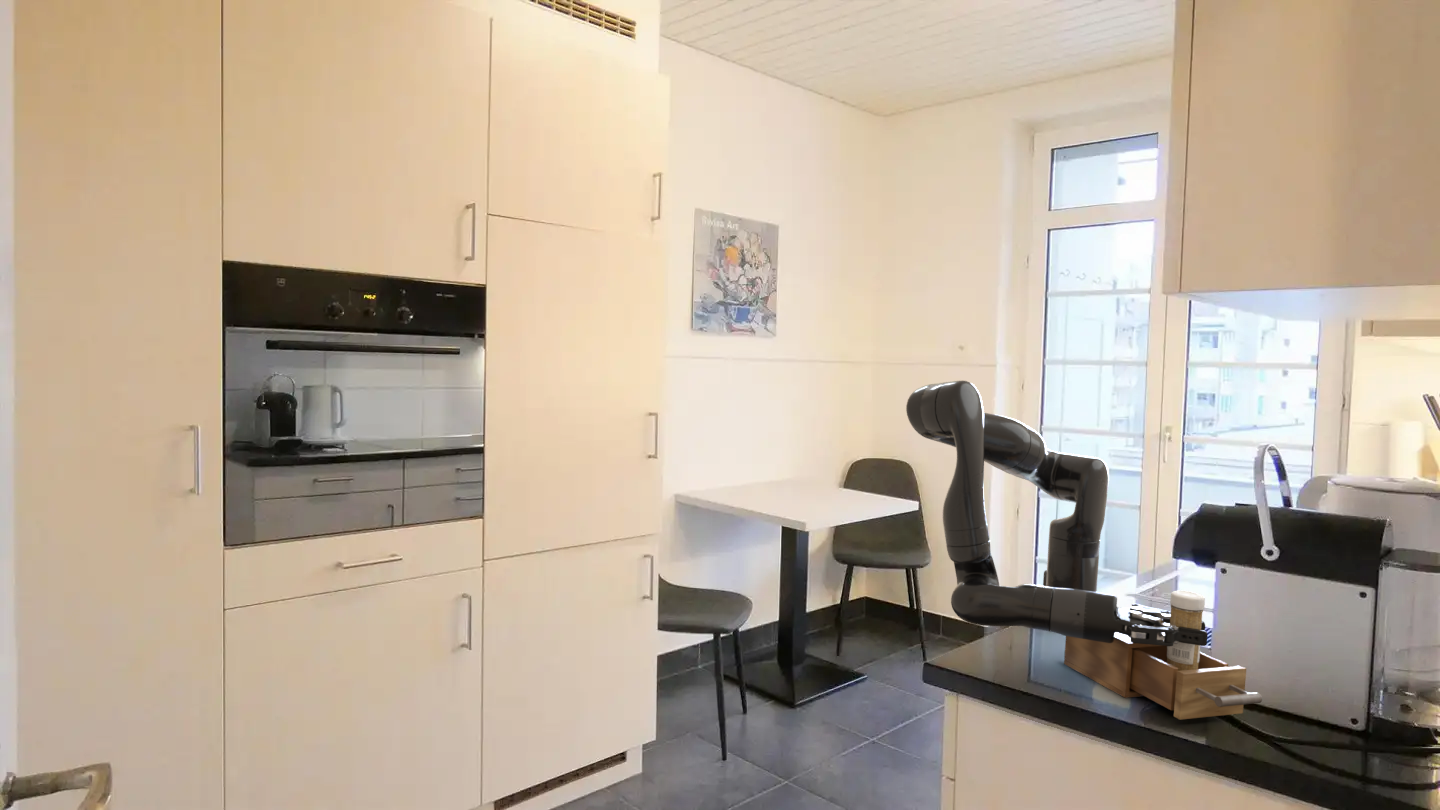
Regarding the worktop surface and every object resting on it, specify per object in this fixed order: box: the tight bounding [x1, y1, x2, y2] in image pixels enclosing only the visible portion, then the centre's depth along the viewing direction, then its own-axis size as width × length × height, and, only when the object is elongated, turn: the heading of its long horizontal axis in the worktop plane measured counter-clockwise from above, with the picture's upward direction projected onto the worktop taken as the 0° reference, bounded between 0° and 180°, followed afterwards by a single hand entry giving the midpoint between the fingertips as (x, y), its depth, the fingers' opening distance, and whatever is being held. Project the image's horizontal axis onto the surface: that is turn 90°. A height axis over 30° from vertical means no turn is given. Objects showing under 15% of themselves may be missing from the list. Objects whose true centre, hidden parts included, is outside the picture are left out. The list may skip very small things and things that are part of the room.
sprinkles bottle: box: [1167, 590, 1206, 671], centre depth 134 cm, size 5×5×13 cm
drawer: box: [1130, 646, 1263, 721], centre depth 132 cm, size 18×11×7 cm, turn 16°
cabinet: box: [1063, 632, 1165, 699], centre depth 145 cm, size 15×13×9 cm
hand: (1205, 633), depth 132 cm, fingers closed on sprinkles bottle, 4 cm apart
